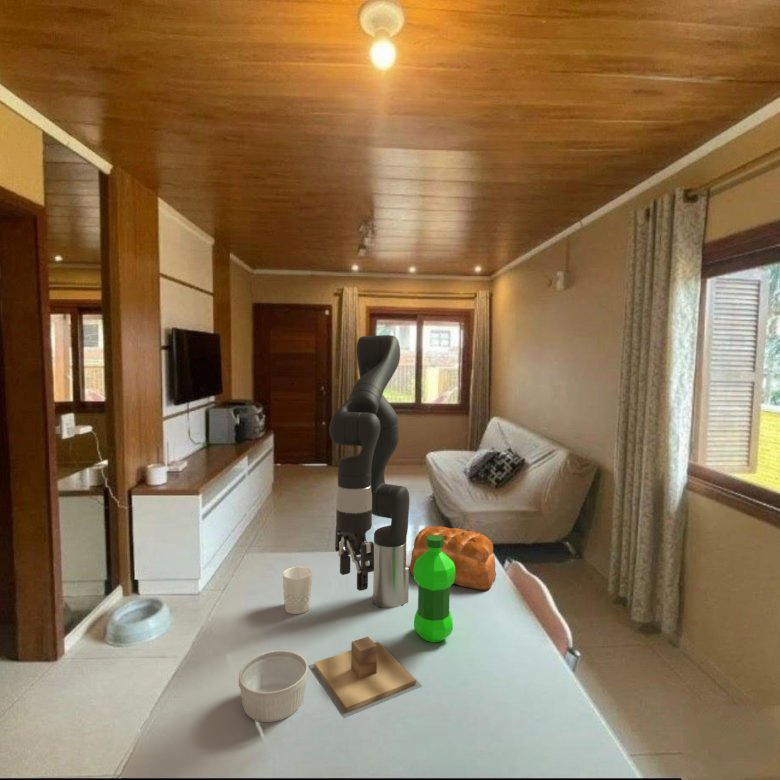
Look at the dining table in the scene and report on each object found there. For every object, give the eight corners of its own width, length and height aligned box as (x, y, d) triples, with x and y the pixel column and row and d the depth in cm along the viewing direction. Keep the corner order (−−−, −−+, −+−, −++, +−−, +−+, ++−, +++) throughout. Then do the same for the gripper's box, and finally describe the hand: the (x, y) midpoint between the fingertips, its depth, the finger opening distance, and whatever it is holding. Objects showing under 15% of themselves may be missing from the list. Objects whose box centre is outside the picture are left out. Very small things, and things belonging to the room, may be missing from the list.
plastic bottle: (403, 638, 117) (405, 538, 116) (430, 621, 125) (432, 527, 124) (436, 655, 110) (438, 549, 109) (462, 636, 118) (464, 537, 117)
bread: (489, 594, 141) (490, 542, 140) (405, 577, 151) (406, 529, 151) (498, 575, 154) (499, 528, 153) (420, 561, 164) (421, 516, 163)
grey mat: (379, 644, 114) (379, 642, 114) (422, 688, 99) (422, 685, 99) (308, 668, 105) (308, 665, 105) (343, 720, 90) (343, 717, 90)
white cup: (276, 611, 129) (276, 575, 128) (293, 598, 136) (293, 564, 136) (301, 618, 126) (302, 581, 125) (317, 604, 133) (317, 569, 133)
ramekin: (272, 740, 85) (272, 702, 85) (223, 711, 92) (223, 676, 92) (321, 697, 96) (321, 663, 96) (274, 674, 103) (274, 642, 103)
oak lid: (377, 645, 113) (378, 616, 113) (415, 684, 99) (416, 652, 99) (314, 666, 105) (314, 635, 104) (346, 712, 91) (346, 677, 91)
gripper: (386, 512, 97) (384, 591, 97) (355, 496, 109) (354, 565, 110) (352, 518, 93) (351, 599, 94) (324, 500, 105) (324, 572, 106)
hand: (353, 581), depth 102 cm, fingers open, 8 cm apart
